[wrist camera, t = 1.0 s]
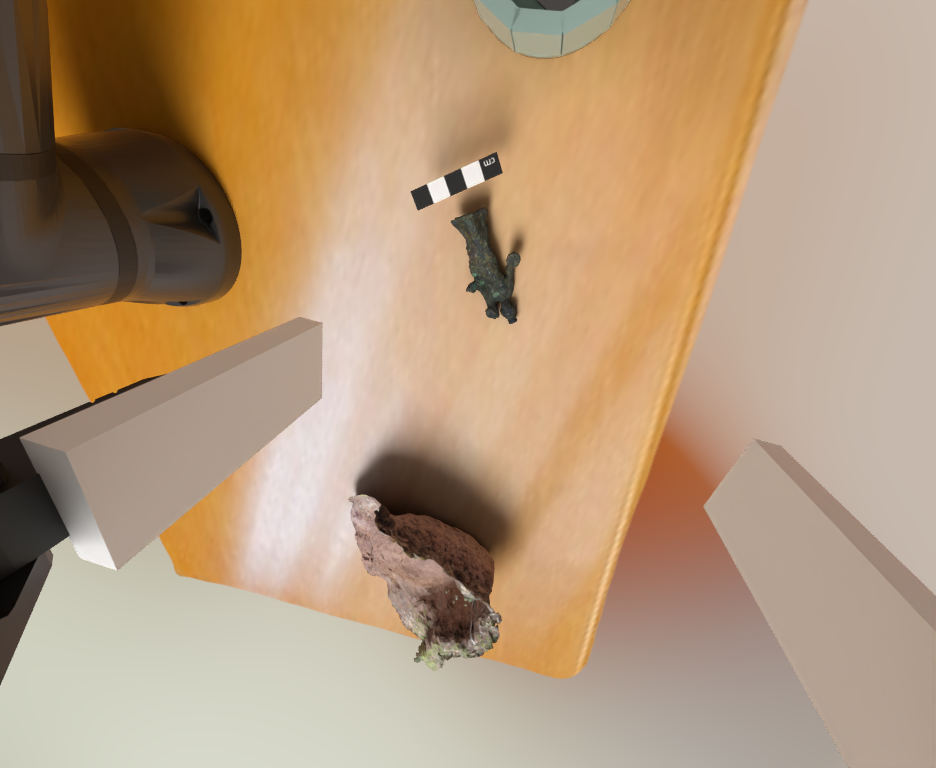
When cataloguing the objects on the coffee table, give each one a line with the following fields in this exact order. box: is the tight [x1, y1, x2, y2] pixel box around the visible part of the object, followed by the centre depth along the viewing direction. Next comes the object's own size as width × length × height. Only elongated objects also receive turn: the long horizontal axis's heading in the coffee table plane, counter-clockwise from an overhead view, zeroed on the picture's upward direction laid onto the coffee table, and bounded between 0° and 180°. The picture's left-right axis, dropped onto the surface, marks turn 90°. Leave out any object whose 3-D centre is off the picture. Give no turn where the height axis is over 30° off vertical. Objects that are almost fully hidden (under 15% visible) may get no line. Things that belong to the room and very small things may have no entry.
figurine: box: [411, 152, 521, 324], centre depth 27 cm, size 6×4×12 cm
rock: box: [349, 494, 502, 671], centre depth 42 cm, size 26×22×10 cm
